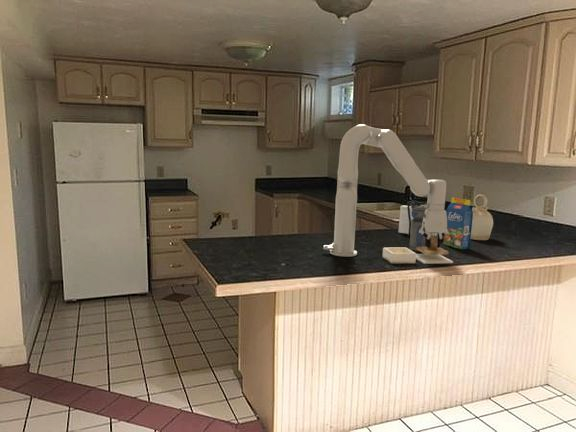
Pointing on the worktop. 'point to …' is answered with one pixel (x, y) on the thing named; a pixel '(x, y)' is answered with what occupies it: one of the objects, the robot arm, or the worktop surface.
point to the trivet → (432, 259)
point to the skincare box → (405, 220)
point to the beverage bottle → (416, 225)
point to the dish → (399, 255)
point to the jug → (481, 220)
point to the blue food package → (459, 224)
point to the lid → (433, 247)
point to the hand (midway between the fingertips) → (432, 246)
